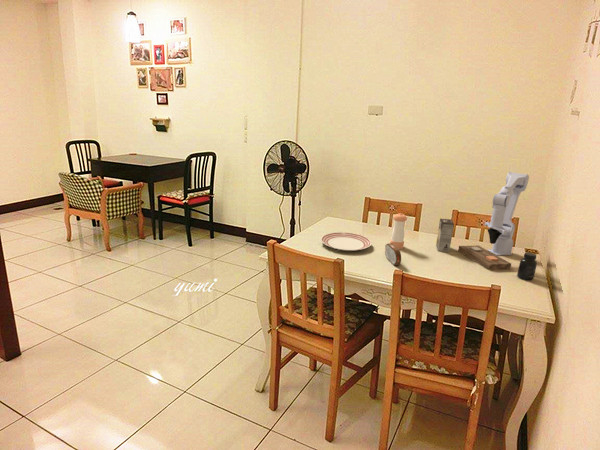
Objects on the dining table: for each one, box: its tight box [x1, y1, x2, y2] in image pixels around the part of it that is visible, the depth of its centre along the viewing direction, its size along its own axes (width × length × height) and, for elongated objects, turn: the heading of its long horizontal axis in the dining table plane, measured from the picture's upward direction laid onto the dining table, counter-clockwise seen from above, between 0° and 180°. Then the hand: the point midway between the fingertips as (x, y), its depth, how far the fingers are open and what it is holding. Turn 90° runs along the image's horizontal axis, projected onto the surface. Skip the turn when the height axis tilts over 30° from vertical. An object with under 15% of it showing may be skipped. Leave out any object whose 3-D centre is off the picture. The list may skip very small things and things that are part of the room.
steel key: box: [471, 247, 482, 252], centre depth 210 cm, size 4×4×3 cm
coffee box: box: [435, 218, 455, 253], centre depth 215 cm, size 9×6×16 cm
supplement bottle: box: [516, 251, 538, 282], centre depth 182 cm, size 7×7×12 cm
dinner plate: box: [320, 231, 372, 252], centre depth 215 cm, size 27×27×3 cm
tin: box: [384, 242, 402, 266], centre depth 194 cm, size 15×3×8 cm, turn 9°
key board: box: [457, 245, 512, 271], centre depth 204 cm, size 12×26×3 cm, turn 11°
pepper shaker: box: [389, 212, 408, 250], centre depth 215 cm, size 7×7×19 cm
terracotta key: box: [486, 256, 498, 261], centre depth 198 cm, size 4×4×3 cm
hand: (492, 243), depth 201 cm, fingers closed
